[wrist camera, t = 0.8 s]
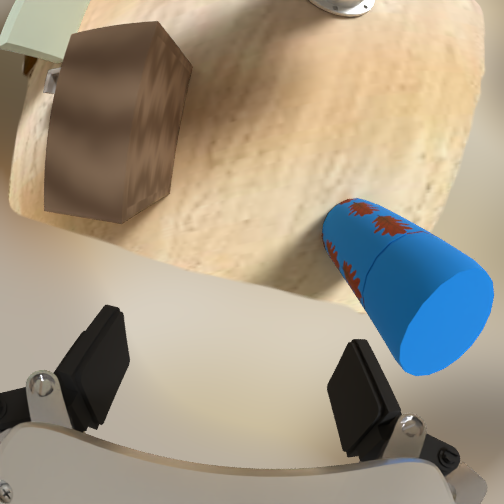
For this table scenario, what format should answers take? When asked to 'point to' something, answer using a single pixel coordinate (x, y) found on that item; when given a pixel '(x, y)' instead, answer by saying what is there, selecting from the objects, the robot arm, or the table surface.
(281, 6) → the table surface
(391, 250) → the thermos
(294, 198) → the table surface
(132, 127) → the cabinet
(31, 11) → the door
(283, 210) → the table surface
